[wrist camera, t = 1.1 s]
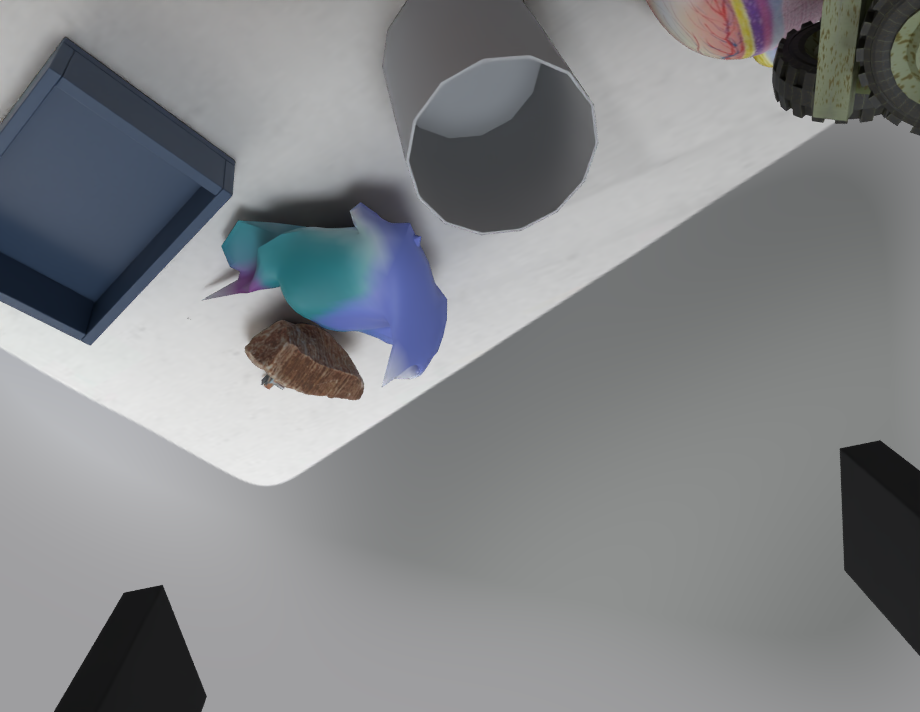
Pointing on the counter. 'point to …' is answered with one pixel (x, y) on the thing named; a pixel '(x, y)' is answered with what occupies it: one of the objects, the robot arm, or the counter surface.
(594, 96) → the counter surface
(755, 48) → the anatomical model
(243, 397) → the counter surface
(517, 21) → the cup
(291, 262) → the figurine
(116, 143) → the bin
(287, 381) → the stone
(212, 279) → the counter surface
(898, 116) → the toy jeep
